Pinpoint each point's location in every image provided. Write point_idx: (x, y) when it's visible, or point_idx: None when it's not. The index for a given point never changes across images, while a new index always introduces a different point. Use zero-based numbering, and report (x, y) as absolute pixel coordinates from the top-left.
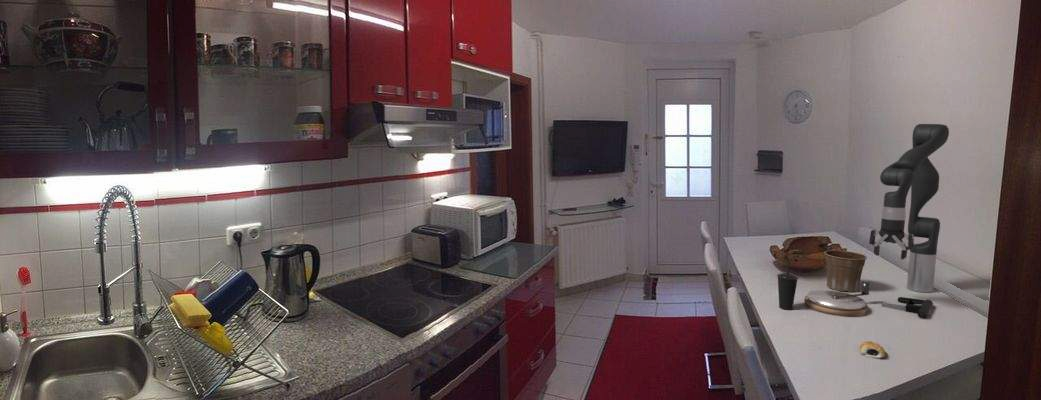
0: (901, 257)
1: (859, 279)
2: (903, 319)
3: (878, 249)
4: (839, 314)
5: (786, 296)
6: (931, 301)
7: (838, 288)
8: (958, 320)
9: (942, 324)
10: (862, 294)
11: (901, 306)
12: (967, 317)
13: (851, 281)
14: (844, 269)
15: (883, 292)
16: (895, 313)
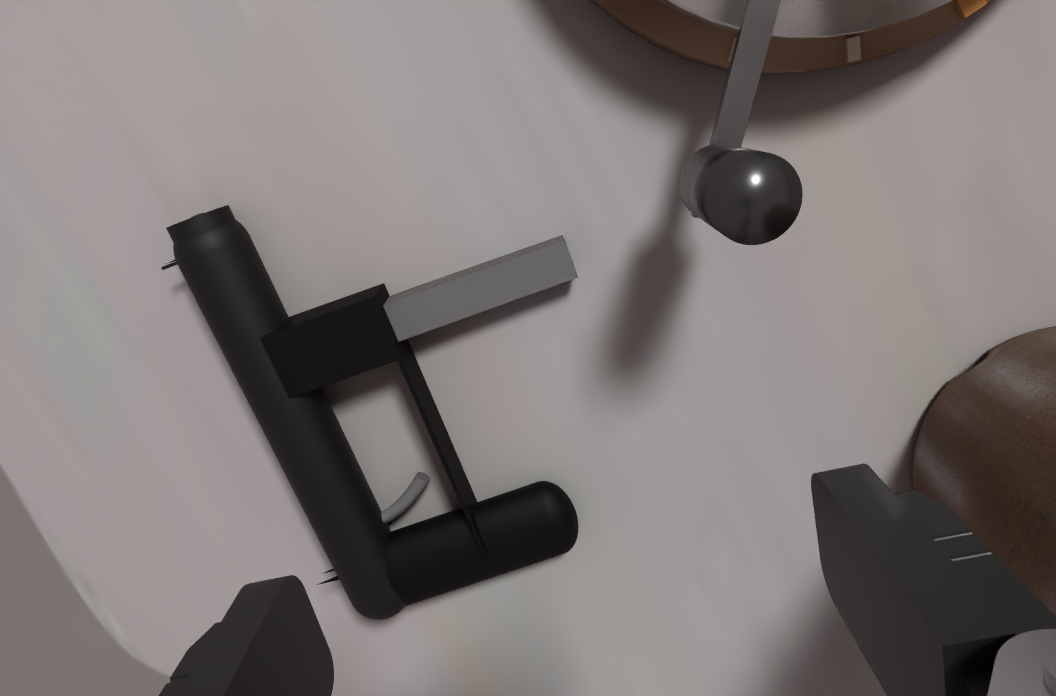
0: (259, 597)
1: None
2: (255, 33)
3: (893, 634)
4: None
5: None
6: (351, 599)
7: (1051, 335)
8: (90, 429)
9: (59, 217)
10: (719, 127)
11: (414, 294)
12: (116, 552)
13: (1001, 433)
14: None
15: (757, 628)
16: (389, 144)
